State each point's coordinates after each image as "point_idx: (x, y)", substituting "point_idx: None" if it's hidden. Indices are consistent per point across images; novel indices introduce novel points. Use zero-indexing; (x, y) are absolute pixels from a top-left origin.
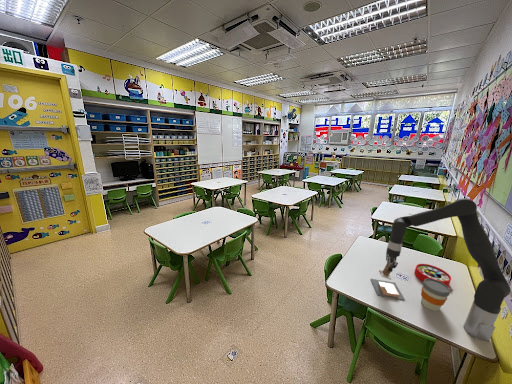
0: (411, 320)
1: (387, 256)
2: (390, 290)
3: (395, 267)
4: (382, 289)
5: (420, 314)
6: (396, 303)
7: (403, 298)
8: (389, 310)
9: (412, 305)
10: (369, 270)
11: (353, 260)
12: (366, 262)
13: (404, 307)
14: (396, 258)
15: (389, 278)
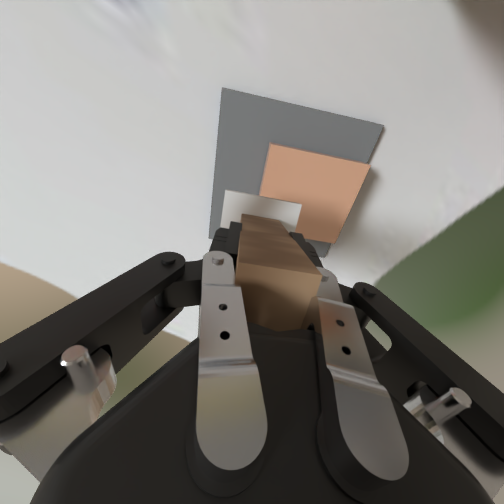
0: (495, 182)
1: (131, 351)
2: (327, 200)
3: (396, 307)
4: (314, 239)
5: (499, 93)
6: (386, 193)
7: (372, 129)
8: (410, 247)
9: (428, 96)
10: (121, 205)
11: (52, 255)
12: (26, 185)
13: (421, 164)
14: (407, 464)
15: (296, 217)
